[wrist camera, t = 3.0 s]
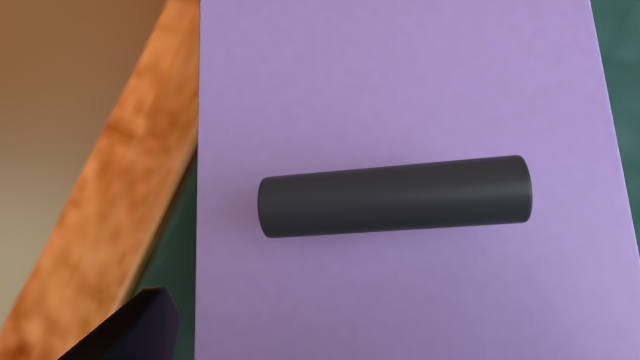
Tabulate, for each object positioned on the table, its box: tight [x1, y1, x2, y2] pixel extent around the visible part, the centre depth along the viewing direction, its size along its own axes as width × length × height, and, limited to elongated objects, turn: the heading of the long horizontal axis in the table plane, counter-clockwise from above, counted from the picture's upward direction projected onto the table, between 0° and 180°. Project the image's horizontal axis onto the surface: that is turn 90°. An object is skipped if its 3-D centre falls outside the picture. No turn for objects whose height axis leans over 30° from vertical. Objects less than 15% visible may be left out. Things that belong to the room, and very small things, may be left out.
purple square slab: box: [195, 0, 640, 360], centre depth 12 cm, size 15×12×5 cm
